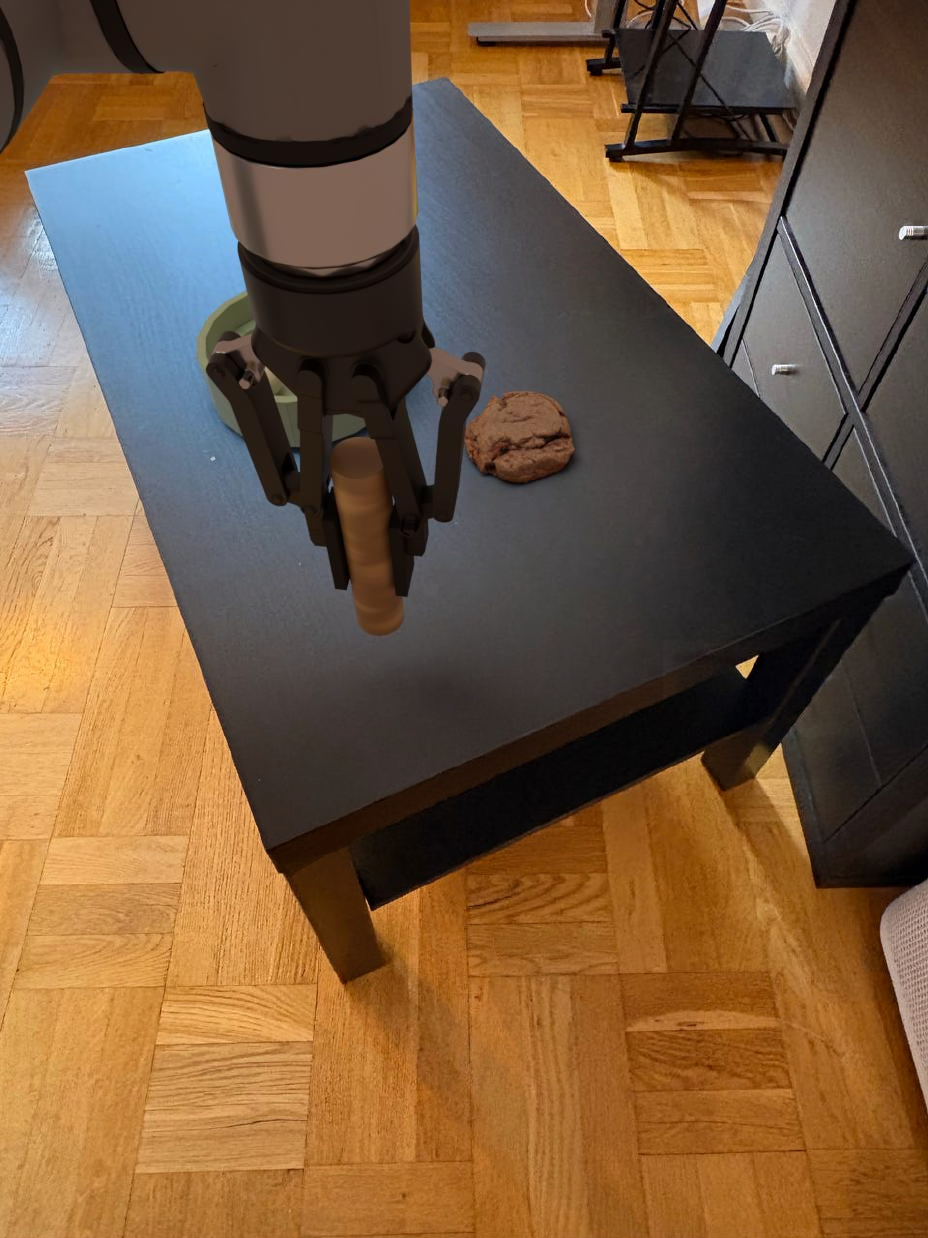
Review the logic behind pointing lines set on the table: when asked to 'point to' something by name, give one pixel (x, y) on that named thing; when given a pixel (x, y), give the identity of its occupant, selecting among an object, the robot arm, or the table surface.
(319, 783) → the table surface
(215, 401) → the bowl
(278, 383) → the cream ball
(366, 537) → the stick
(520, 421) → the cookie
